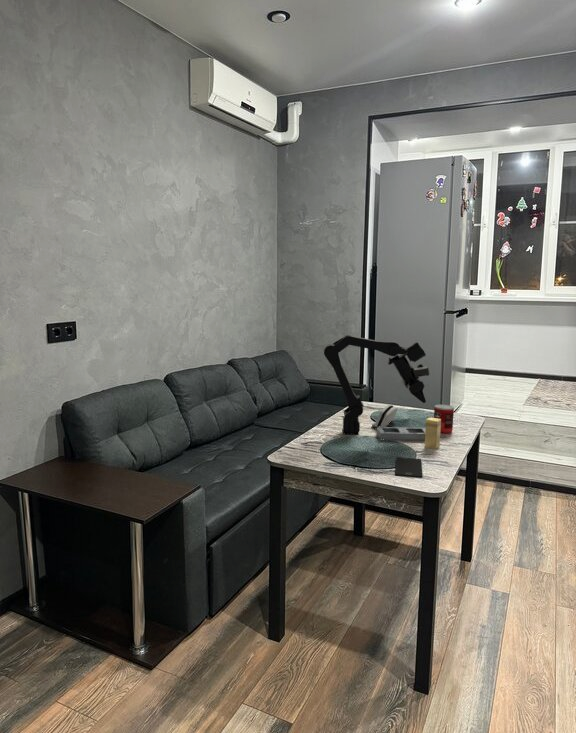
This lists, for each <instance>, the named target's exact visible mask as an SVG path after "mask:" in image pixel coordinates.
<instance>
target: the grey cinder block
mask: <svg viewBox="0 0 576 733" xmlns="http://www.w3.org/2000/svg"><path fill="white" fill-rule="evenodd" d="M425 430H426V427H402V426H401V427H397V426H396V427H393V426H391V427H388V426H386V427H379V426H378V427H376V436H377V437H378V438H380V439H384V440H383V441H389V440H393V442H394V441H399V442H400V441H402V442H405V441H406V442H425ZM380 439H379V440H380Z"/></svg>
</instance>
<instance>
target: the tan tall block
mask: <svg viewBox="0 0 576 733" xmlns="http://www.w3.org/2000/svg"><path fill="white" fill-rule="evenodd" d="M425 428H426V430H425V441H424V448H427V449H432V450H437V449H438V448H440V442H441V433H440V430H441V419H438V418H434V417H432V416H431V417H428V418H427V419H426V420H425Z"/></svg>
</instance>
